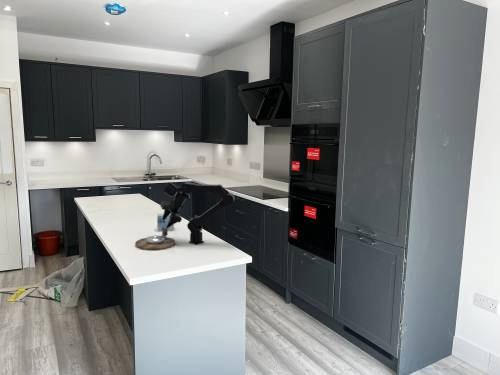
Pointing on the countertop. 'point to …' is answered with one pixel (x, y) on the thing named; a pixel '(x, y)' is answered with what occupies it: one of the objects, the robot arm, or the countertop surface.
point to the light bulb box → (163, 222)
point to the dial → (158, 237)
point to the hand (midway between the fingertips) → (165, 223)
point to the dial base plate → (146, 246)
